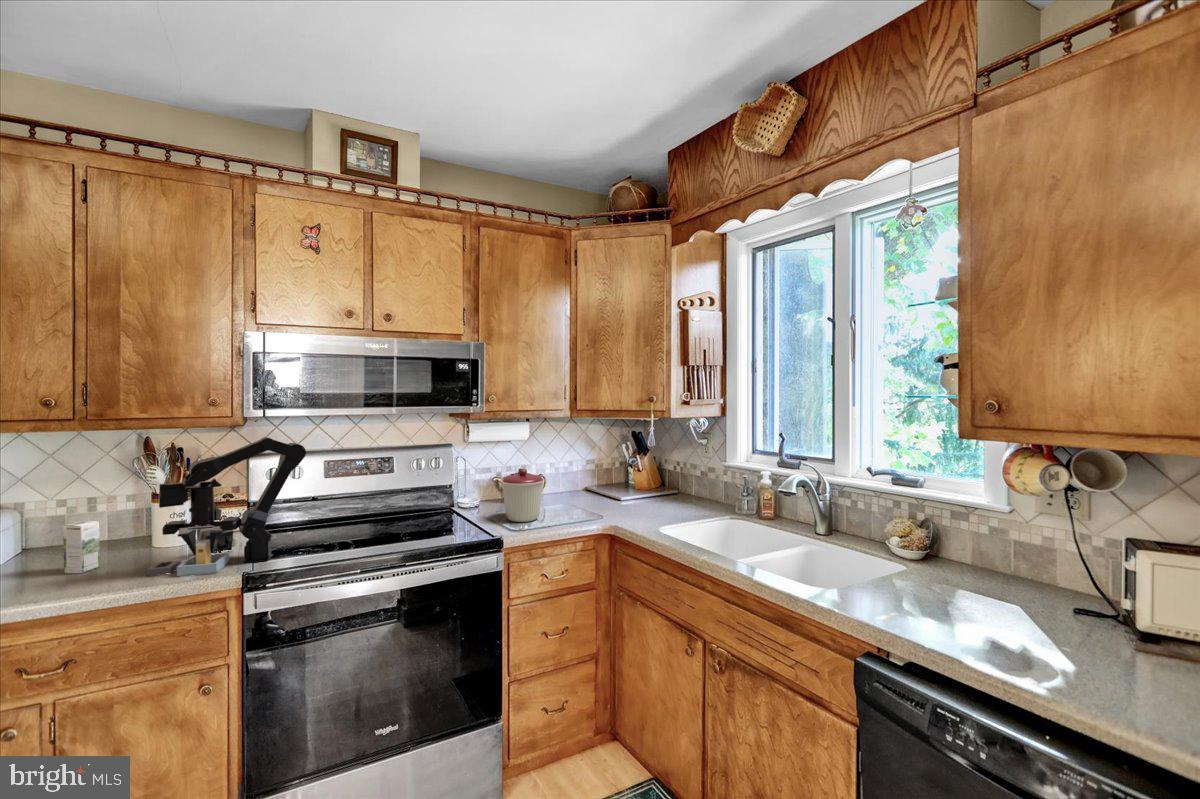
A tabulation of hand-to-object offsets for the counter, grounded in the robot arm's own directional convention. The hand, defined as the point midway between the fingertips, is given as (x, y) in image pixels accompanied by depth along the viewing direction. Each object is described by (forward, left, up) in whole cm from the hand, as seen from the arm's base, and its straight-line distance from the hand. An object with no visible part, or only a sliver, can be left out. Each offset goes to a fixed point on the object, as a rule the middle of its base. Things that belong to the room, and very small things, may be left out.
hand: (203, 553), depth 165 cm
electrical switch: (+2, -17, -5) cm, 18 cm away
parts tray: (0, 0, -5) cm, 5 cm away
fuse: (0, 0, -4) cm, 4 cm away
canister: (-102, -32, -5) cm, 107 cm away
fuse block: (+11, -2, -5) cm, 12 cm away
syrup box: (+35, -10, -5) cm, 37 cm away
